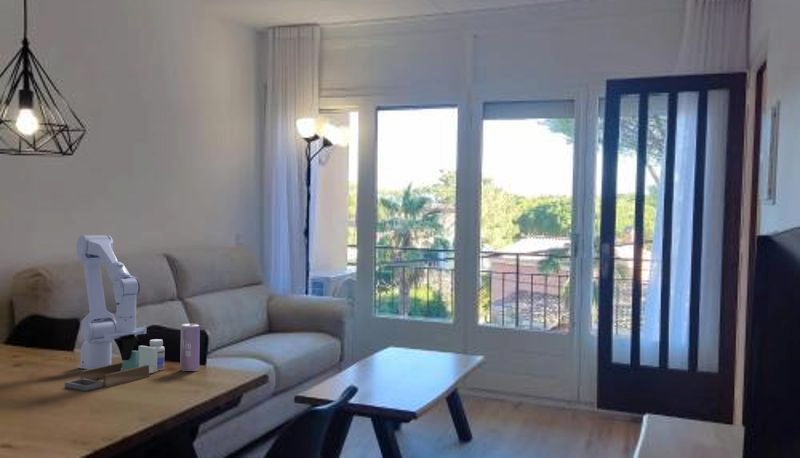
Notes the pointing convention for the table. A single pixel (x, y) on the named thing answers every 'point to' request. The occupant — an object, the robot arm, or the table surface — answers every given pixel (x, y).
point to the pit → (84, 384)
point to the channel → (115, 374)
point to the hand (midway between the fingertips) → (125, 359)
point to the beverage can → (190, 347)
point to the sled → (142, 359)
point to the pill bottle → (159, 352)
